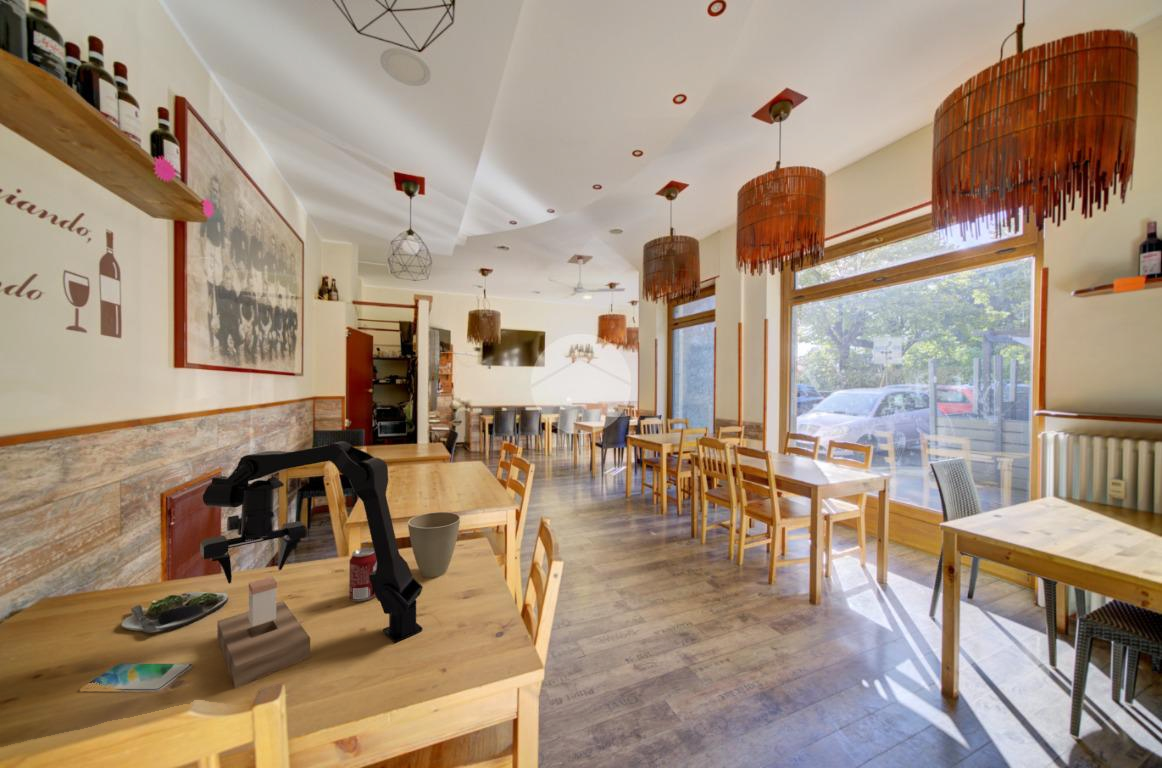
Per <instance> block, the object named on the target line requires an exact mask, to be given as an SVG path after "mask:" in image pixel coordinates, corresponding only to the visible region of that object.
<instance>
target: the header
mask: <svg viewBox="0 0 1162 768" xmlns="http://www.w3.org/2000/svg"><path fill="white" fill-rule="evenodd" d="M216 637H217V642H218V645H219V647H220V650H221V654H222V657H223V659H224V662H225V665H226V667H227V670H228V673H229V675H230V679H231V681H232V684H233V686H234V689H236V688H239V687H242V686H245V685H246V684H249V683H251V682H253V680H254V681H256V680H258V679H257V678H259V677H261V678H263V677H265V676H264V675H266V674H268V675H270V674H269V673H271V674H272V672H273V673H274V672H275V671H276V672H278V671H280V670H283V669H285V668H287V667H289V666H293V665H295V664H297V663H300V662H302V661H304V660H307V659H309V658H311V637H310V635H309V634H308V632H307V631H306V630H305V628H304V627H303V626H302V624H301V623H300V621H299V620H298V619H297V618H296V616H295V615H294V613H293V612H292V611H291V609H290V608H289V607H288V605H287V604H286V602H285V601H284V600H280V601H276V619H274V620H271V621H268V622H265V623H262V624H259V625H256V626H252V625H251V623H250V621H249V610H248V611H245V612H242V613H239V614H236V615H233V616H229V617H226V618H223V619H220V620H217V635H216ZM277 670H278V671H277ZM262 676H263V677H262ZM266 676H267V675H266ZM255 679H256V680H255ZM259 679H260V678H259Z"/></svg>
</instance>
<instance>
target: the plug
mask: <svg viewBox="0 0 1162 768" xmlns="http://www.w3.org/2000/svg"><path fill="white" fill-rule="evenodd" d="M277 586H278V581H277V580H276V579H275V577H274V576H269V577H264V578H261V579H257V580H253V581H250V582H248V611H249V621H250V623H251V625H252V626H256V625H259V624H262V623H265V622H268V621H271V620H274V619H276V603H277V588H278V587H277Z"/></svg>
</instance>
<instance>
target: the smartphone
mask: <svg viewBox="0 0 1162 768" xmlns="http://www.w3.org/2000/svg"><path fill="white" fill-rule="evenodd" d="M192 668H193V663H148V662H147V663H144V662H143V663H137V662H136V663H135V662H131V663H127V662H125V663H123V662H122V663H118V664H117V665H115V666H113V667H111V668H109V669H108V670H107V671H104V672H103V673H102V674H100V675H98V676H96V677H95V678H93V679H92V680H90V681H91V682H90V681H88V683H92V682H93V683H95V682H97V683H99V685H100V684H101V686H102V685H104V686H106V685H108V684H110V685H112V684H113V685H112V686H111V687H113V686H116V687H114V688H113V689H115V688H117V690H118V689H119V690H122V691H140V692H139V693H156V692H157V691H158V692H160V691H162V690H164V689H165V688H166V687H168V686H170V684H172V683H173V682H175V681H176V680H177V679H179V678H180V677H182V676H183V675H184V674H186V673H187V672H188V671H190V670H191V669H192ZM97 683H96V684H97ZM110 685H108V686H110ZM108 686H107V687H108ZM158 692H157V693H158Z"/></svg>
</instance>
